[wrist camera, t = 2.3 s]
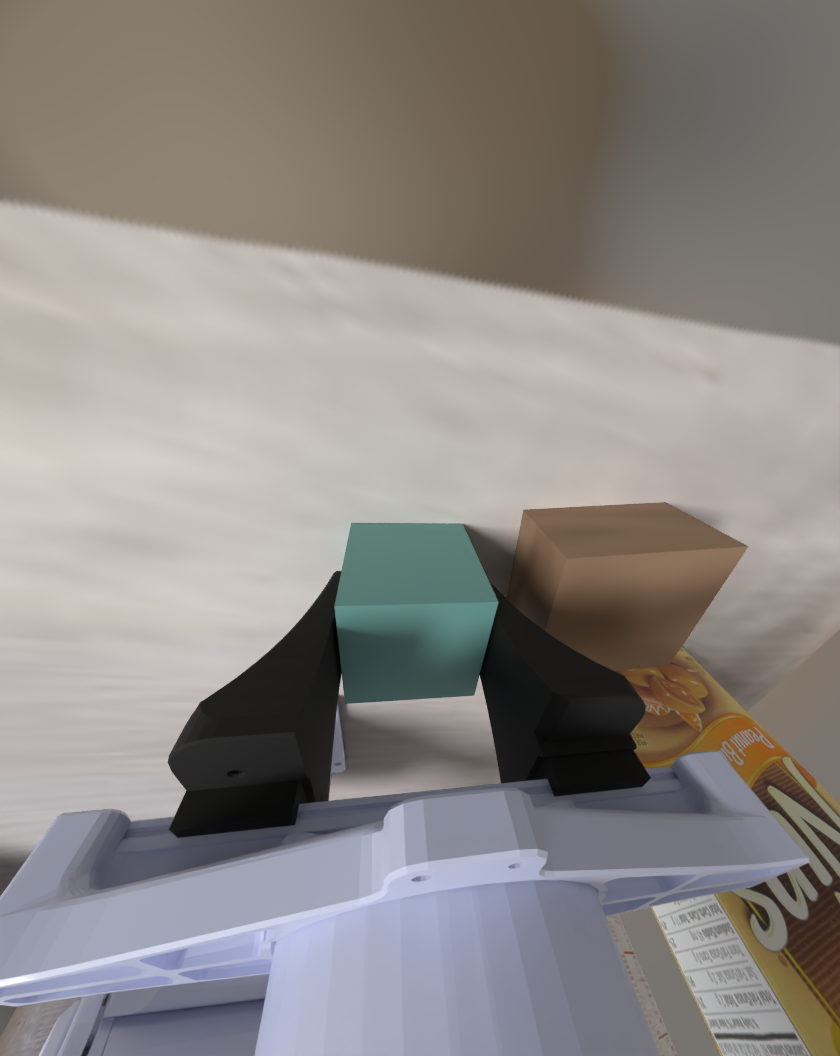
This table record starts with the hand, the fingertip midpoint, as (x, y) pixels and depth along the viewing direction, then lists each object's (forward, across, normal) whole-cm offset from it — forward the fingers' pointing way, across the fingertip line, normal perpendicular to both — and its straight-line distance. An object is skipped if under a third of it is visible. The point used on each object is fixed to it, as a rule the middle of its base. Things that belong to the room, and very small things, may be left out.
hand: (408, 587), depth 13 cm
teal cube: (+1, 0, 0) cm, 1 cm away
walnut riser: (+2, -9, 0) cm, 9 cm away
